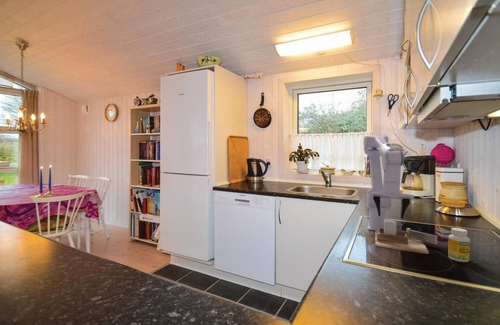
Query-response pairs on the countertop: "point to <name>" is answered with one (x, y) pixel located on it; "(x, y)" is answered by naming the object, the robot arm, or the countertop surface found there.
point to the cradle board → (399, 241)
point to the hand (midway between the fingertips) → (390, 217)
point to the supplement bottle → (459, 245)
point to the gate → (421, 236)
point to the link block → (390, 227)
